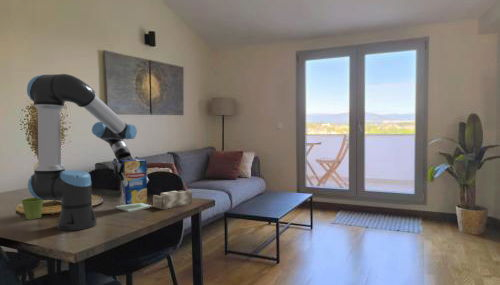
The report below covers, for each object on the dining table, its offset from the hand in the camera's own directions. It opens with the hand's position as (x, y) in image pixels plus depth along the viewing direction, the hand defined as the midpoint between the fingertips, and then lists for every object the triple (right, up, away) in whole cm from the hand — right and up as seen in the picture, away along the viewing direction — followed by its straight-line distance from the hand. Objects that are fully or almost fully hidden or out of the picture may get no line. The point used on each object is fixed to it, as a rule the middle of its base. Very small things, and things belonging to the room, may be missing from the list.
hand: (137, 183), depth 184 cm
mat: (-2, -13, +2) cm, 13 cm away
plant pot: (-43, -14, -17) cm, 48 cm away
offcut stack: (+16, -11, +8) cm, 21 cm away
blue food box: (-2, -10, +3) cm, 11 cm away
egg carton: (+17, -12, +7) cm, 22 cm away
